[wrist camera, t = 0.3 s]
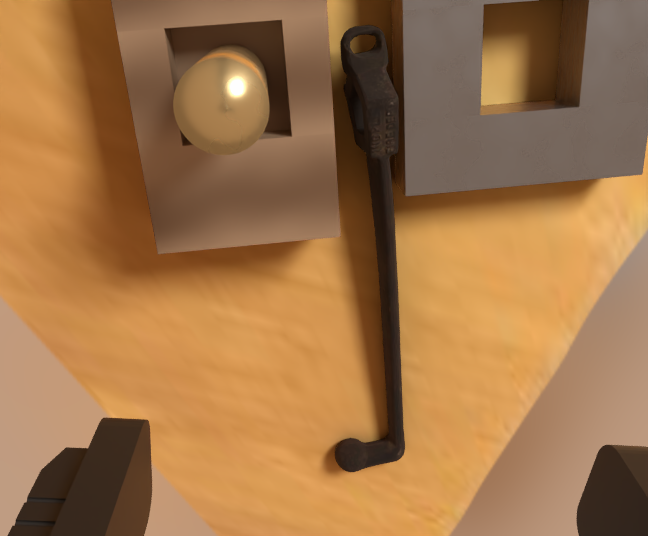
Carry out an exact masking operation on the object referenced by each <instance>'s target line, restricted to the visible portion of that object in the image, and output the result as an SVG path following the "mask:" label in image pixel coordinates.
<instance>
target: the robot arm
mask: <svg viewBox="0 0 648 536" xmlns="http://www.w3.org/2000/svg"><path fill="white" fill-rule="evenodd" d="M151 497H152V470H151V444H150V425H149V421H148V420H141V419H122V418H103V419H102V420H101V421H100V423H99V425H98V427H97V430H96V432H95V434H94V436H93V439H92V441H91V443H90V446H89V448H88V449H87V448H65V449H64V450H63V451H62V452H61V453H60V454H59V455H57V456H56V457H55V458H54V459H53V460H52V461H51V462H50V463H48V464H47V465H46V466H45V467H44V468H43V469H42V470H41V472H40V474H39V476H38V477H37V479H36V481H35V483H34V486H33V487H32V489H31V491H30V493H29V495H28V498H27V502H26V503H24V505H23V507H22V509H21V511H20V513H19V514H18V517H17V519H16V523H15V526H12V528H11V530H10V532H9V534H8V536H144V534H145V530H146V527H147V523H148V517H149V512H150V506H151ZM577 527H578V533H579V536H648V447H642V446H622V445H605V446H603V447H602V448H601V449H600V450H599V452H598V454H597V457H596V459H595V462H594V465H593V467H592V470H591V473H590V475H589V478H588V481H587V483H586V486H585V489H584V492H583V494H582V497H581V500H580V502H579V505H578V509H577Z"/></svg>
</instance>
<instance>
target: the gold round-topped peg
mask: <svg viewBox="0 0 648 536" xmlns="http://www.w3.org/2000/svg"><path fill="white" fill-rule="evenodd" d="M173 108H174V115H175V119H176V122H177V124H178V126H179V128H180V130H181V132H182V133H183V135H184V136H185V137H186V138H187V139H188V140H189V141H190V142H191V143H192V144H193V145H195V146H196V147H197V148H199V149H201V150H203V151H205V152H208V153H211V154H216V155H231V154H236V153H239V152H242V151H244V150H246V149H248V148H249V147H251V146H252V145H253V144H254V143H255V142H256V141H257V140H258V139H259V138H260V137H261V135H262V134H263V132H264V130H265V128H266V126H267V123H268V119H269V111H270V110H269V96H268V86H267V77H266V71H265V68H264V66H263V64H262V62H261V60H260V59H259V58H258V56H257V55H256V54H255V53H254V52H252V51H251V50H249V49H248V48H246V47H244V46H241V45H237V44H225V45H221V46H218V47H216V48H214V49H212V50H211V51H210V52H209V53H207V54H206V55H205V56H204V57H203V58H201V59H200V60H199V61H198V62H197V63H196V64H194V65H193V66H192V67H191V68H190V69H188V70H187V71H186V72H185V74H184V75H183V76H182V77H181V79H180V80H179V82H178V85H177V87H176V90H175V93H174V99H173Z"/></svg>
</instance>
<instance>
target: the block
mask: <svg viewBox="0 0 648 536" xmlns="http://www.w3.org/2000/svg"><path fill="white" fill-rule="evenodd" d="M523 1H537V0H391V18H392V63H393V87H394V90H395V92H396V94H397V95H398V100H399V107H398V117H399V131H398V152H397V153H396V154H395V183H396V184H397V186H398V187H399V188H400V190H401V191H402V192H403V193H404V195H405V196H415V195H426V194H437V193H448V192H458V191H469V190H480V189H491V188H502V187H512V186H523V185H534V184H545V183H556V182H567V181H577V180H588V179H599V178H610V177H621V176H631V175H642V173H643V165H644V158H645V151H646V143H647V136H648V0H563V10H562V23H561V35H560V48H559V61H558V74H557V87H556V100H546V101H534V102H522V103H510V104H498V105H487V106H481V75H482V43H483V12H484V4H496V3H509V2H523Z"/></svg>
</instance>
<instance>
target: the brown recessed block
mask: <svg viewBox="0 0 648 536" xmlns="http://www.w3.org/2000/svg"><path fill="white" fill-rule="evenodd" d="M111 3H112V8H113V14H114V19H115V24H116V30H117V35H118V41H119V46H120V51H121V57H122V62H123V68H124V73H125V79H126V84H127V89H128V95H129V100H130V106H131V111H132V116H133V122H134V127H135V133H136V138H137V144H138V149H139V154H140V160H141V165H142V171H143V176H144V181H145V187H146V192H147V198H148V203H149V209H150V214H151V219H152V225H153V230H154V236H155V241H156V246H157V252H158V254H165V253H176V252H186V251H197V250H207V249H217V248H228V247H238V246H249V245H259V244H269V243H280V242H290V241H301V240H311V239H322V238H332V237H341V233H340V216H339V199H338V183H337V166H336V149H335V133H334V116H333V99H332V82H331V66H330V49H329V32H328V15H327V0H111ZM225 44H237V45H241V46H244V47H246V48H248V49H249V50H251V51H252V52H254V53H255V54H256V55H257V56H258V58H259V59H260V60H261V62H262V64H263V66H264V68H265V71H266V77H267V86H268V96H269V110H270V111H269V119H268V123H267V126H266V128H265V130H264V132H263V134H262V135H261V137H260V138H259V139H258V140H257V141H256V142H255V143H254V144H253V145H252V146H251V147H249V148H248V149H246V150H244V151H242V152H239V153H236V154H231V155H216V154H211V153H208V152H205V151H203V150H201V149H199V148H197V147H196V146H195V145H193V144H192V143H191V142H190V141H189V140H188V139H187V138H186V137H185V136H184V135H183V133H182V132H181V130H180V128H179V126H178V124H177V122H176V119H175V115H174V108H173V99H174V93H175V90H176V87H177V85H178V82H179V80H180V79H181V77H182V76H183V75H184V74H185V72H186V71H187V70H188V69H190V68H191V67H192V66H193V65H194V64H196V63H197V62H198V61H199V60H200V59H201V58H203V57H204V56H205V55H206V54H207V53H209V52H210V51H211V50H212V49H214V48H216V47H218V46H221V45H225Z"/></svg>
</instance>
